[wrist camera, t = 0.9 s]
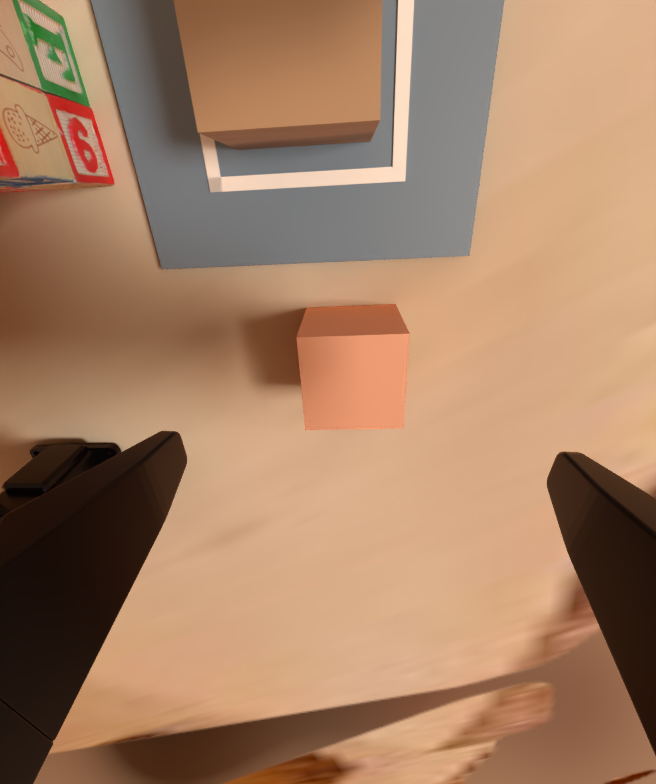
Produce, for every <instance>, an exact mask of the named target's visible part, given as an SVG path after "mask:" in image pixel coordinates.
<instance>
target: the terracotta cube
mask: <svg viewBox="0 0 656 784" xmlns="http://www.w3.org/2000/svg"><path fill="white" fill-rule="evenodd" d="M409 336H410V333H409V331H408V329H407V327H406V325H405V323H404V321H403V319H402V317H401V315H400V313H399V311H398V308H397V306H396V304H389V305H363V306H336V307H309V308H306V311H305V314H304V317H303V320H302V323H301V326H300V328H299V331H298V334H297V337H296V339H297V349H298V359H299V370H300V380H301V390H302V400H303V411H304V421H305V430H325V429H383V428H404V414H405V398H406V383H407V367H408V351H409Z"/></svg>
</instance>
